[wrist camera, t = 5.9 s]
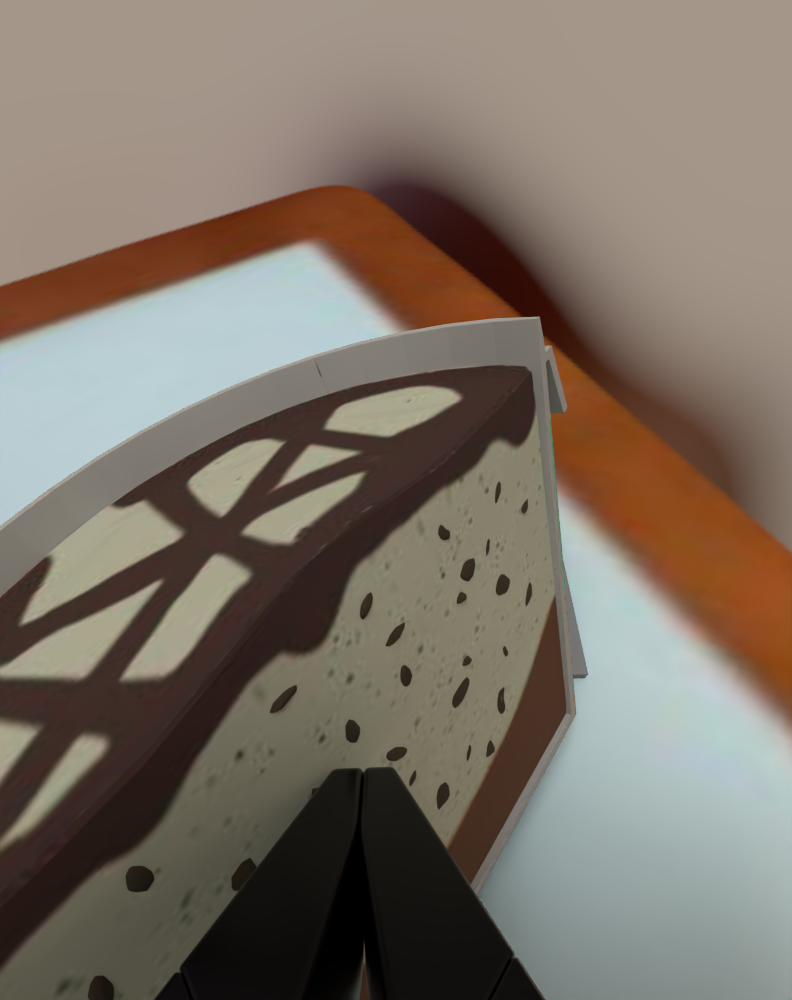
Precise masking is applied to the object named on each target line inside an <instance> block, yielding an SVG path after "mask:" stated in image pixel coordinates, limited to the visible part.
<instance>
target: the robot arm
mask: <svg viewBox="0 0 792 1000" xmlns="http://www.w3.org/2000/svg"><path fill="white" fill-rule="evenodd" d="M364 946H365V965H366V980H367V992H368V1000H545V998H544V997H543V995H542V994H541V992H540V991H539V989H538V988H537V986H536V985H535V983H534V982H533V980H532V979H531V977H530V976H529V974H528V972H527V971H526V969H525V968H524V966H523V965H522V963H521V962H520V960H519V959H518V958H515V954H514V951H513V950H512V948H511V947H510V945H509V944H508V942H507V941H506V939H505V938H504V936H503V934H502V933H501V931H500V930H499V928H498V927H497V925H496V924H495V922H494V921H493V919H492V918H491V916H490V914H489V913H488V911H487V910H486V908H485V907H484V905H483V904H482V902H481V901H480V899H479V898H478V896H477V894H476V893H475V891H474V890H473V888H472V887H471V885H470V884H469V882H468V881H467V879H466V877H465V876H464V874H463V873H462V871H461V870H460V868H459V867H458V865H457V864H456V862H455V861H454V859H453V857H452V856H451V854H450V853H449V851H448V850H447V848H446V847H445V845H444V844H443V842H442V841H441V839H440V837H439V836H438V834H437V833H436V831H435V830H434V828H433V827H432V825H431V824H430V822H429V820H428V819H427V817H426V816H425V814H424V813H423V811H422V810H421V808H420V807H419V805H418V804H417V802H416V800H415V799H414V797H413V796H412V794H411V793H410V791H409V790H408V788H407V787H406V785H405V783H404V782H403V780H402V779H401V777H400V776H399V774H398V773H397V771H396V770H395V769H394V768H393V767H369V768H366V769H365V771H364V774H363V771H362V769H360V768H338V769H334V770H332V771H331V772H330V774H329V775H328V776H327V778H326V779H325V780H324V781H323V783H322V784H321V785H320V787H319V788H318V789H317V790H316V792H315V793H314V794H313V796H312V797H311V798H310V799H309V801H308V802H307V803H306V805H305V806H304V807H303V808H302V810H301V811H300V812H299V814H298V815H297V816H296V817H295V819H294V820H293V821H292V823H291V824H290V825H289V826H288V828H287V829H286V830H285V832H284V833H283V834H282V835H281V837H280V838H279V839H278V841H277V842H276V843H275V845H274V846H273V847H272V848H271V850H270V851H269V852H268V854H267V855H266V856H265V857H264V859H263V860H262V861H261V863H260V864H259V865H258V866H257V868H256V869H255V870H254V872H253V873H252V874H251V875H250V877H249V878H248V879H247V881H246V882H245V883H244V884H243V886H242V887H241V888H240V890H239V891H238V892H237V893H236V895H235V896H234V897H233V899H232V900H231V901H230V902H229V904H228V905H227V906H226V908H225V909H224V910H223V912H222V913H221V914H220V915H219V917H218V918H217V919H216V921H215V922H214V923H213V924H212V926H211V927H210V928H209V930H208V931H207V932H206V933H205V935H204V936H203V937H202V939H201V940H200V941H199V942H198V944H197V945H196V946H195V948H194V949H193V950H192V951H191V953H190V954H189V955H188V957H187V958H186V959H185V960H184V962H183V963H182V964H181V966H180V969H179V971H180V972H176V973H174V974H173V975H172V977H171V978H170V979H169V981H168V982H167V983H166V984H165V986H164V987H163V988H162V990H161V991H160V992H159V993H158V995H157V996H156V997H155V999H154V1000H359V998H360V990H361V981H362V971H363V961H364Z"/></svg>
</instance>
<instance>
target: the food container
mask: <svg viewBox="0 0 792 1000" xmlns="http://www.w3.org/2000/svg"><path fill="white" fill-rule="evenodd" d="M566 409H567V404H566V400H565V396H564V392H563V389H562V385H561V381H560V377H559V373H558V369H557V365H556V362H555V358H554V354H553V350H552V346H544V340H543V334H542V328H541V322H540V317H521V318H496V319H486V320H477V321H469V322H460V323H452V324H445V325H439V326H433V327H428V328H422V329H416V330H411V331H405V332H400V333H396V334H392V335H387V336H383V337H379V338H375V339H370V340H366V341H362V342H358V343H354V344H351V345H347V346H344V347H341V348H337V349H334V350H330V351H327V352H323V353H320V354H317V355H313V356H310V357H308V358H305V359H302V360H299V361H296V362H293V363H290V364H288V365H285V366H282V367H279V368H276V369H273V370H270V371H268V372H266V373H263V374H261V375H258V376H256V377H253V378H251V379H248V380H246V381H243V382H241V383H238V384H236V385H234V386H231V387H229V388H226V389H224V390H222V391H220V392H218V393H216V394H213V395H211V396H209V397H207V398H205V399H203V400H201V401H198V402H196V403H194V404H192V405H190V406H188V407H186V408H183V409H182V410H180V411H178V412H176V413H174V414H172V415H170V416H168V417H166V418H165V419H163V420H161V421H159V422H157V423H155V424H153V425H151V426H149V427H148V428H146V429H144V430H142V431H140V432H138V433H137V434H135V435H133V436H132V437H130V438H128V439H127V440H125V441H123V442H122V443H120V444H118V445H116V446H115V447H113V448H111V449H110V450H108V451H106V452H105V453H103V454H101V455H100V456H98V457H96V458H95V459H93V460H92V461H90V462H89V463H87V464H86V465H84V466H83V467H81V468H80V469H78V470H77V471H75V472H74V473H72V474H71V475H69V476H68V477H66V478H65V479H63V480H62V481H60V482H59V483H57V484H56V485H54V486H53V487H51V488H50V489H49V490H47V491H46V492H45V493H43V494H42V495H41V496H39V497H38V498H37V499H35V500H34V501H33V502H31V503H30V504H29V505H27V506H26V507H25V508H23V509H22V510H21V511H19V512H18V513H17V514H16V515H14V516H13V517H12V518H10V519H9V520H8V521H6V522H5V523H4V524H2V525H1V526H0V1000H154V999H155V997H156V996H157V995H158V993H159V992H160V991H161V990H162V988H163V987H164V986H165V984H166V983H167V982H168V981H169V979H170V978H171V977H172V975H173V974H174V973H176V972H180V971H179V969H180V966H181V964H182V963H183V962H184V960H185V959H186V958H187V957H188V955H189V954H190V953H191V951H192V950H193V949H194V948H195V946H196V945H197V944H198V942H199V941H200V940H201V939H202V937H203V936H204V935H205V933H206V932H207V931H208V930H209V928H210V927H211V926H212V924H213V923H214V922H215V921H216V919H217V918H218V917H219V915H220V914H221V913H222V912H223V910H224V909H225V908H226V906H227V905H228V904H229V902H230V901H231V900H232V899H233V897H234V896H235V895H236V893H237V892H238V891H239V890H240V888H241V887H242V886H243V884H244V883H245V882H246V881H247V879H248V878H249V877H250V875H251V874H252V873H253V872H254V870H255V869H256V868H257V866H258V865H259V864H260V863H261V861H262V860H263V859H264V857H265V856H266V855H267V854H268V852H269V851H270V850H271V848H272V847H273V846H274V845H275V843H276V842H277V841H278V839H279V838H280V837H281V835H282V834H283V833H284V832H285V830H286V829H287V828H288V826H289V825H290V824H291V823H292V821H293V820H294V819H295V817H296V816H297V815H298V814H299V812H300V811H301V810H302V808H303V807H304V806H305V805H306V803H307V802H308V801H309V799H310V798H311V797H312V796H313V794H314V793H315V792H316V790H317V789H318V788H319V787H320V785H321V784H322V783H323V781H324V780H325V779H326V778H327V776H328V775H329V774H330V772H331V771H332V770H334V769H338V768H360V769H362V771H363V774H364V771H365V769H366V768H369V767H393V768H394V769H395V770H396V771H397V773H398V774H399V776H400V777H401V779H402V780H403V782H404V783H405V785H406V787H407V788H408V790H409V791H410V793H411V794H412V796H413V797H414V799H415V800H416V802H417V804H418V805H419V807H420V808H421V810H422V811H423V813H424V814H425V816H426V817H427V819H428V820H429V822H430V824H431V825H432V827H433V828H434V830H435V831H436V833H437V834H438V836H439V837H440V839H441V841H442V842H443V844H444V845H445V847H446V848H447V850H448V851H449V853H450V854H451V856H452V857H453V859H454V861H455V862H456V864H457V865H458V867H459V868H460V870H461V871H462V873H463V874H464V876H465V877H466V879H467V881H468V882H469V884H470V885H471V887H472V888H473V890H474V891H475V893H476V894H477V895H478V893H479V891H480V890H481V888H482V886H483V884H484V882H485V880H486V879H487V877H488V875H489V873H490V871H491V869H492V868H493V866H494V864H495V862H496V860H497V858H498V857H499V855H500V853H501V851H502V849H503V847H504V845H505V844H506V842H507V840H508V838H509V836H510V834H511V833H512V831H513V829H514V827H515V825H516V823H517V822H518V820H519V818H520V816H521V814H522V812H523V811H524V809H525V807H526V805H527V803H528V801H529V800H530V798H531V796H532V794H533V792H534V790H535V789H536V787H537V785H538V783H539V781H540V779H541V778H542V776H543V774H544V772H545V770H546V768H547V767H548V765H549V763H550V761H551V759H552V757H553V756H554V754H555V752H556V750H557V748H558V746H559V745H560V743H561V741H562V739H563V737H564V735H565V734H566V732H567V730H568V728H569V726H570V724H571V723H572V721H573V719H574V717H575V715H576V707H575V696H574V684H573V672H572V661H571V649H570V637H569V626H568V614H567V603H566V591H565V579H564V568H563V556H562V544H561V533H560V521H559V509H558V498H557V486H556V474H555V463H554V451H553V440H552V428H551V416H550V413H564V412H565V411H566ZM359 1000H368V992H367V980H366V965H365V946H364V961H363V971H362V981H361V990H360V998H359Z"/></svg>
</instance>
